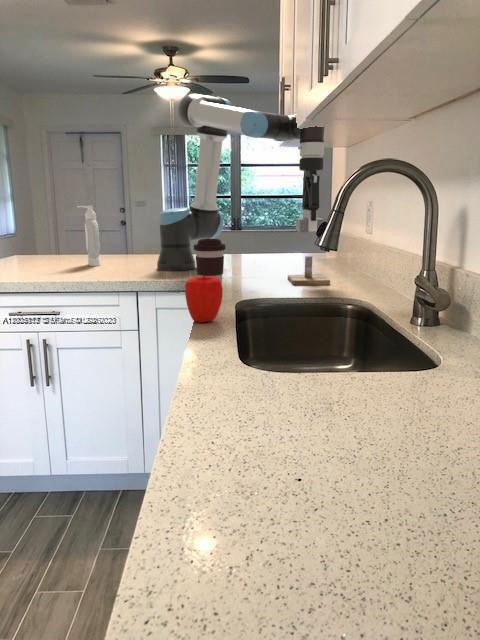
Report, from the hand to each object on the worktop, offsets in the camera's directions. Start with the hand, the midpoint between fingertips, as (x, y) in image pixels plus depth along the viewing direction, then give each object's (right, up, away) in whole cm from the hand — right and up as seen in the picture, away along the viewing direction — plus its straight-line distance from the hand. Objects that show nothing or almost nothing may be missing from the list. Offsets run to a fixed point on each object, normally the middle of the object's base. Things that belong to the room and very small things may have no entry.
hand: (309, 230), depth 165 cm
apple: (-31, -30, -47) cm, 64 cm away
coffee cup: (-32, -19, -3) cm, 38 cm away
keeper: (0, -16, +4) cm, 17 cm away
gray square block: (0, 0, 0) cm, 0 cm away
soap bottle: (-86, -6, +48) cm, 98 cm away
